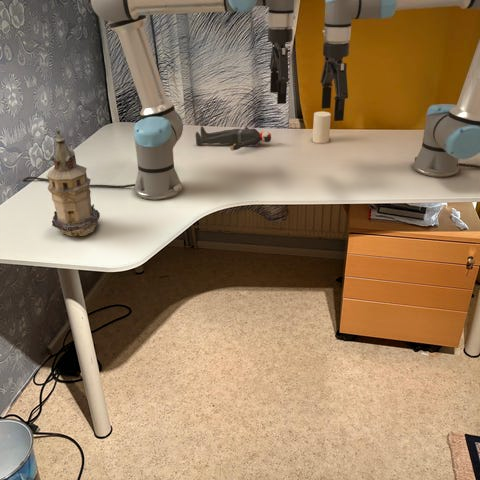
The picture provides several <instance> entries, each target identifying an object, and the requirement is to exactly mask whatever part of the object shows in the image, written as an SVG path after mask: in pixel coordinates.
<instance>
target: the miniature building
mask: <svg viewBox="0 0 480 480" xmlns="http://www.w3.org/2000/svg"><path fill="white" fill-rule="evenodd" d="M56 134H57V136H56V138H55V140H54V141H55V142H56V147H55V154H54V156H52V157H51V161H52V162H53V165H54V167H53V168H51V169H50V170H49V171H48V173H47V174H46V179H49V181H48V182H49V184H48V186H47V190H48V191H49V193H50V194H51V200H52V201H53V205H54V209H55V211H53V217H52V220H51V223H52V225H51V227H54V228H56V229H58V230H59V231H60V234H63V235H64V234H65V235H66V236H69V237H77V236H80V237H83V236H87V235H88V234H90V233H93V232H94V231H95V229H96V226H97V225H98V223H99V220H100V216H101V213H100V212H99V210H98V209H96V208H95V204H92V201H91V200H92V199H91V198H92V197H91V192H92V191H91V188H90V187H89V185H91V178H89V177H88V174H87V167H85V166H84V165H83V166H82V165H80V164H77V160H76V154H75V151H74V150H70V149H69V147H68V145H67V143H66V138H65V137H64V136H63V135H61V130H60V129H56Z"/></svg>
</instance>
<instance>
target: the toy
mask: <svg viewBox="0 0 480 480" xmlns="http://www.w3.org/2000/svg"><path fill="white" fill-rule="evenodd" d="M199 131H200V133H199ZM199 131H196V132H195V143H196V146H200V145H205V144H208V145H214V144H220V145H230V146H229V150H230V151H232V152H233V151H234V152H235V151H237V150H240V149H241V148H244V147H257V146H259V145H260V143H261V142H264V143H269V142H271V141H272V134H271V132H268V131H262V132H259V131H258V130H257V129H256V128H249V127H248V126H243V127H242V128H232V129H225V130H220V131H213V132H207V131H206V129H205V128H204V126H203V125H202V126H200V130H199Z"/></svg>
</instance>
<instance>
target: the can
mask: <svg viewBox="0 0 480 480" xmlns="http://www.w3.org/2000/svg"><path fill="white" fill-rule="evenodd" d="M331 117H332V114H331V112H328V111H315V112H314V113H313V122H312V123H313V124H312V125H313V126H312V142H313V143H316V144H327V143H330V133H331V131H330V130H331V119H332V118H331Z"/></svg>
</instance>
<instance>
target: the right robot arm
mask: <svg viewBox="0 0 480 480" xmlns="http://www.w3.org/2000/svg"><path fill="white" fill-rule="evenodd" d="M324 2H325V4H324V5H325V7H324V28H323V29H322V34H323V41H324V42H323V46H322V56H323V57H324V62H323V67H322V73H321V77H320V84H321V87H322V91H321V92H322V93H321V109H331V104H332V103H331V102H332V90H333V89H332V88H333V83H334V89H335V90H334V91H335V97H334V98H333V100H334V109H333V110H334V112H333V121H334V122H342V121H344V117H345V105H346V103H345V102H346V99H349V90H348V75H347V74H348V73H347V62H343V59H344V58H347V57H348V56H349V55H350V42H349V41H350V40H351V37H352V36H351V33H352V20H382V19H391V18H392V17H394V15H395V12H396V11H406V10H418V9H433V8H434V9H435V8H446V7H460V8H461V10H462V9H463V10H464V9H473V10H474V9H475V10H476V9H477V10H480V0H324ZM423 130H424V131H423V137H422V143H421V148H420V150H419V152H418V154H417V156H415V157H414V161H413V166H412V168H413V170H414V171H415V172H417V173H419V174H420V175H423V176H427V177H432V178H451V177H453V176H456V175H457V174H458V172H459V169H460V167H467V168H476V169H480V165H478V164H470V163H462V162H459V160H469V159H472V158H474V157H475V156H477V155H479V154H480V39H478V43H477V46H476V49H475V51H474V54H473V57H472V60H471V63H470V66H469V69H468V71H467V74H466V78H465V79H464V83H463V85H462V89H461V92H460V95H459V98H458V100H457V103H456V104H451V103H439V104H432V105H430V106H429V107H428V109H427V112H426V115H425V124H424V129H423Z"/></svg>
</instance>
